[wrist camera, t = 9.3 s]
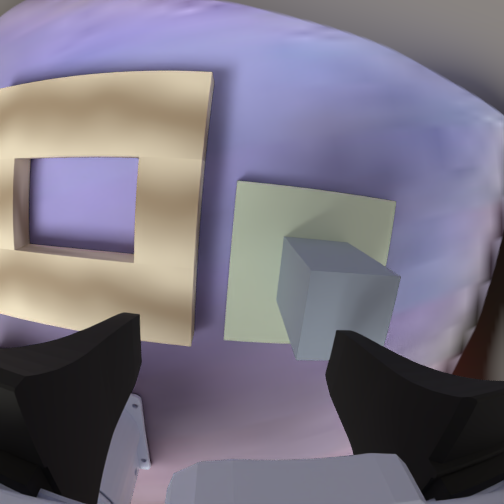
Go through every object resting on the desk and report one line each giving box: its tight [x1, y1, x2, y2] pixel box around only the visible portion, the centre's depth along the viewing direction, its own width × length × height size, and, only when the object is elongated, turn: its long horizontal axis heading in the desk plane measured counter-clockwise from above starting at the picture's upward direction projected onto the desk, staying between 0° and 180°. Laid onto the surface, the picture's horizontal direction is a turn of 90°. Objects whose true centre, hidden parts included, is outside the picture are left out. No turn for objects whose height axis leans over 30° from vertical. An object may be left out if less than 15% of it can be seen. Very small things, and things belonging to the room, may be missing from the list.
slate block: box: [276, 236, 401, 360], centre depth 16 cm, size 4×4×7 cm
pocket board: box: [0, 71, 214, 346], centre depth 18 cm, size 16×16×2 cm
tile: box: [224, 181, 396, 344], centre depth 20 cm, size 10×10×1 cm
